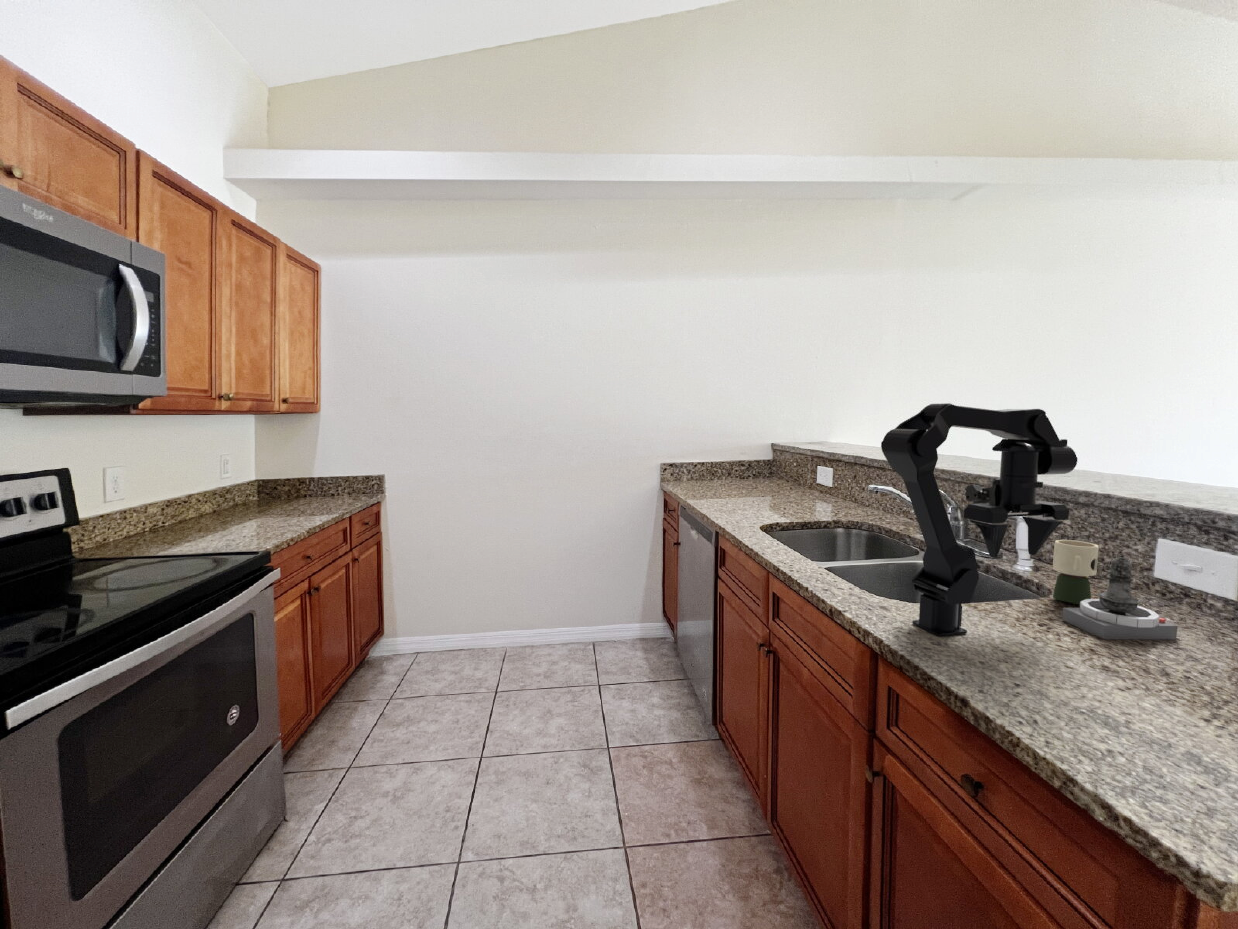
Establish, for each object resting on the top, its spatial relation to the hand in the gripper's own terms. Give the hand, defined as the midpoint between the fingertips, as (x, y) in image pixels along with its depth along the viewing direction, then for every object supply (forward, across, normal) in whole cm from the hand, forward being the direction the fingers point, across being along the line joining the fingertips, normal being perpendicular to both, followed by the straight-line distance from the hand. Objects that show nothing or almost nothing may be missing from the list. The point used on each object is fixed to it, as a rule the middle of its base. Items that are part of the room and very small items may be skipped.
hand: (1012, 556), depth 103 cm
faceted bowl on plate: (+13, -16, +8) cm, 22 cm away
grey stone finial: (+11, -16, +7) cm, 21 cm away
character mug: (+13, -23, -6) cm, 27 cm away
